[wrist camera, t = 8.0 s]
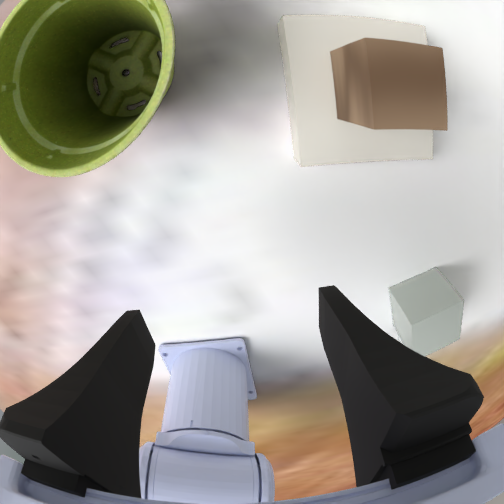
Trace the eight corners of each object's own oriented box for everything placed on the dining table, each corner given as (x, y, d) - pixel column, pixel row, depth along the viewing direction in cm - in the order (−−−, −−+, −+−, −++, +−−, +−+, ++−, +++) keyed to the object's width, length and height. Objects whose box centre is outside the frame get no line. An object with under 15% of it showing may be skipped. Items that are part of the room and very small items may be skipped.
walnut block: (398, 118, 16) (447, 130, 11) (337, 119, 16) (373, 129, 11) (393, 54, 14) (442, 48, 9) (329, 51, 14) (364, 37, 9)
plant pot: (181, -13, 13) (143, -73, 6) (220, 114, 18) (204, 127, 10) (56, 46, 14) (-28, 40, 6) (92, 161, 18) (18, 207, 11)
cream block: (411, 149, 19) (432, 159, 17) (292, 156, 20) (301, 167, 17) (402, 31, 15) (424, 26, 12) (276, 26, 15) (282, 15, 13)
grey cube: (436, 305, 26) (459, 339, 22) (393, 324, 27) (412, 362, 23) (435, 266, 24) (464, 299, 20) (387, 287, 25) (411, 325, 20)
